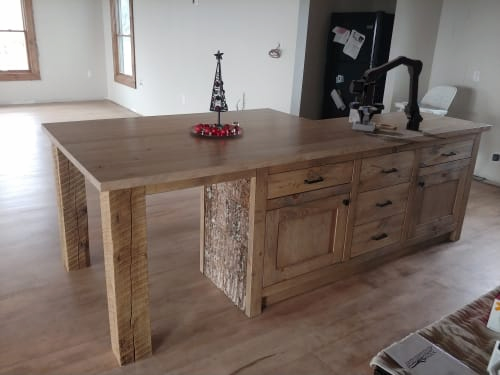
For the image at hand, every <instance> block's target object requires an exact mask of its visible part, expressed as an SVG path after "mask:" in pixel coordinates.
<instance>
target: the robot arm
mask: <svg viewBox="0 0 500 375" xmlns="http://www.w3.org/2000/svg"><path fill="white" fill-rule="evenodd" d="M401 65H403V66H406V67H407V72H408V76H409V87H408V88H409V89H408V103H406V104H405V105H404V106H403V107H404V110H403V113H404V115H405V116H406V119H407V120H408V121H407V122H406V127H405V129H406V130H407V131H412V132H419V131H420V126H421V124H420V123H423V121H424V118H423V116H422V115H421V110H420V106H419V102H418V100H419V80H420V75H421V73H422V70H423V66H424V63H423V61H422V60H421V59H417V58H416V59H415V58H410V57H407V56H405V55H399V56H398V57H396V58H394V59H392V60H389V61H388V62H386V63H384V64H382V65H380V66H378V67H372V68H369V69H367V70H365V72H364V74H363V76H361V78H360V80H355V79H354V80H353V79H352V80H351V82H350V85H349V92H350V93H351V94H361V97H360V96H355V99H354V102H356V103H353V102H350V103H349V104H348V108H349V109H350V110H351V109H355V110H357V111H358V114H359V118H360V122H362V117H363V111H364V110H362V108H368V110H369V111H368V112H370V117H369V122H371V120H372V118H374V115H375V114H376V113H377V112H379V111H385V108H386V107H385V105H384V104H382V103H381V102H379V103H378V102H377V103H376V102H375V103H374V99H375V97H376V96H375V89H376V88H375V87H376V86H377V87H379V86H380V84H379V83H378V82H377V81H378V79H380V78H381V76H383V75H384V74H386V73H387V72H389V71H391V70H393V69H395V68H397V67H399V66H401Z"/></svg>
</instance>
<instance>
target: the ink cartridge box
mask: <svg viewBox="0 0 500 375" xmlns="http://www.w3.org/2000/svg"><path fill="white" fill-rule="evenodd" d="M352 103H356V102H355V101H353V102H352ZM362 110H364V111H363V112H369V111H368V110H369V108H362ZM355 121H360V118H359V114H358V111H357V110H355V109H351V108H350V111H349V118H348V123H352V124H353V123H354V122H355Z"/></svg>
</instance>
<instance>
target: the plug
mask: <svg viewBox="0 0 500 375" xmlns="http://www.w3.org/2000/svg"><path fill="white" fill-rule="evenodd" d="M369 117H370V112H369V111H368V112H363V117H362V122H361V123H360V124H361V125H368V124H369Z"/></svg>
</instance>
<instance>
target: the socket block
mask: <svg viewBox="0 0 500 375" xmlns="http://www.w3.org/2000/svg"><path fill="white" fill-rule="evenodd" d="M395 128H396V124H389V123H380V122H378V123H377V122H376V124H375V129H380V130H381V129H382V130H390V131H394V130H395Z"/></svg>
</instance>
